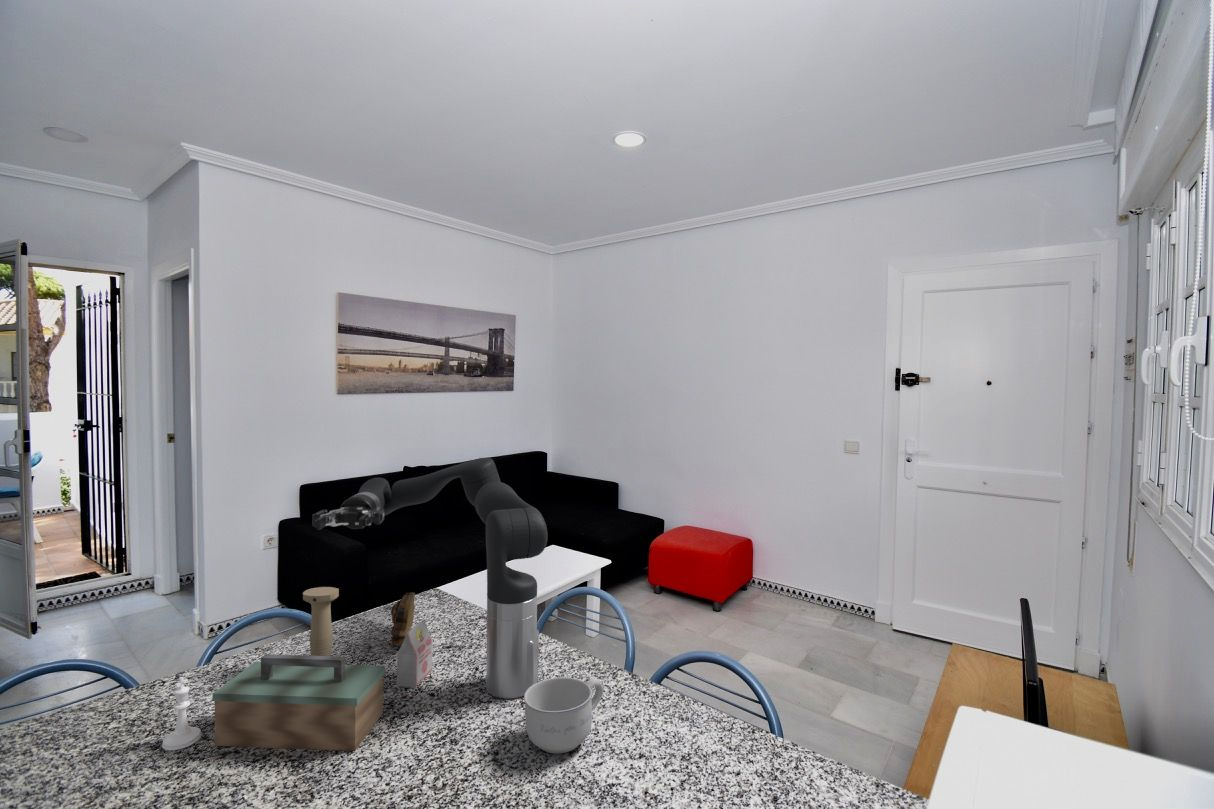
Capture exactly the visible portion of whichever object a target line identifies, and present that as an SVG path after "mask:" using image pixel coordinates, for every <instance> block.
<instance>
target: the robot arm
mask: <svg viewBox="0 0 1214 809" xmlns="http://www.w3.org/2000/svg"><path fill="white" fill-rule="evenodd" d="M498 472H499V471H498V469H497V466H496V463H495V461H494V459H492V458H491V457H479V458H475V459H471V460H468V461H464V462H461V463H459V464H455V465H451V466H449V467H446V468H443V469H441V470H438V471H435V472H431V473H429V474H425V475H421V476H417V477H411V478H405V479H401V480H400V479H399V480H398V481H395V482H394V483H393V484H392V486H390V483H389V481H388V479H385V478H383V477H373V478H371V479H368V480H366V482H364V483H363V484H362V485H361V486H360V488H359V491H358V493H357V494H354V495H352V496H350V497H349V498H346V500H344V501H343V502H342V504H341V505H340V507H339V508H338V509H333V510H330V511H329V512H328V509H322V510H319V511H317V512H316V513H315V512H314V513H313V514H312V522H311V523H312V527H314V528H316V530H317V531H318V530H319V531H321V530H323V528H326V527H327V526H328V527H329V526H330V527H333V528H334V527H339V526H345V527H347V528H349V529H350V530H351V529H353V530H359V529H364V528H365V527H367V526H369V527H370V526H371V525H372V523H374V525H375V526H378V525H381V524H382V523H383V522H384V520H385V516H388V515H389V514H391V513H393V512H395V511H396V510H398V509H401V508H404V507H409V506H414V505H419V504H424V503H427V502H429V501H431V500H432V499H433V498H435V497H436V496H437V495H438V494H439V493H440V491H442V489H443V488H444V487H445V486H446V485H448V483H450V482H451V481H453V480H454V479H458V478H460V481H461V484H462V488H463V490H464V493H465V496H466V498H467V501H468V502H469V503H470V505H472V506H473V507H474V508H475V512H476V513H477V515H478V516H479V518H480V520H481V521H482V522H483V523H484V524H485V547H486V548H485V549H486V583H487V584H486V585H487V586H486V661H485V662H486V664H485V665H486V673H485V674H486V675H485V679H486V682H485V686H486V691H487V692H488V693H489V694H490V695H491V696H493V697H496V698H500V699H516V698H521V697H524V694H525V692H526V691H527V689H528V688H529V687H531V686H532V685H534V684H535V683H537V682H538V680H539V648H540V647H539V642H540V641H539V640H540V638H539V634H540V631H539V629H538V628H537V627H538V625H537V624H538V621H537V620H538V581H537V579H536V578H535V577H534V576H533V575H532V574H529V573H527V572H523V571H519V570H515V569H512V568H510V566H509V567H508V565H507V561H513V560H514V561H515V560H516V561H517V560H524V559H530V558H531V559H532V558H535V557H537V556H539V555H541V554H542V553H543V552H544V550H545V549H546V547H547V543H548V535H549V533H548V528H547V524H546V521H545V519H544V517H543V514H542V513H541V512H540V511H539V510H538V509H537V508H536V507H534V506H532V505H530V504H529V503H527V502H526V501H524V500H523V499H522V498H521V497H520V496H518V494H517V493H516V491H515V490H514V489H513V488H512V487H511V486H510V485H508V484H506V483H504V482H501V478H500V476H499V473H498Z"/></svg>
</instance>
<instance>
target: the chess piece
mask: <svg viewBox="0 0 1214 809" xmlns="http://www.w3.org/2000/svg"><path fill="white" fill-rule="evenodd" d="M187 683H189V679H188V678H185V677H184V676H180V677H179V678H178V682H176V683H175V684H174V687H175V688H176V689H175V690H174V691H173V696H174V697H175V699H176V703H175V704H173V708H172V709H173V710H176V711H177V714H176V715H177V716H176V722H175V723H176V724H175V729H174V730H173V731H172V732H170V733H168V734H167V735H166V736H165V737H164V738H163V740H162V745H161V748H162V749H163V750H165V751H177V750H182V749H184V748H187V747H189V746H192V745H193V744H195V743H197V742H198V741H199V740H200V739H201V738H202V729H201V728H199V727H196V726H190V725H189V722H188V717H187V709H186V708H188V707H189V706H190V705H191V702H190V701H189V700H187V698H188V694H189V692H190V690H191V688H190V687H189V686H185V684H187Z"/></svg>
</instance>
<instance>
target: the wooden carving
mask: <svg viewBox="0 0 1214 809" xmlns="http://www.w3.org/2000/svg"><path fill="white" fill-rule="evenodd" d="M415 598H416V593H415V592H406V593H405V594H403V596H402V598H401V599H400V600H397V602H396V603H395V604H393V605H392V607H391V610H390V613H391V614H390V615H391V620H392V624H393V626H392V628H391V631H390V635H391V640H390V644H391V645H393V646H394V645H395V646H402V644H403V641H404V639H405V635H406V633H407V632H409V631H410V630H411V629H412V628H413V623H414V616H415V609H416V605H415Z"/></svg>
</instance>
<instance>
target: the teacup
mask: <svg viewBox="0 0 1214 809" xmlns="http://www.w3.org/2000/svg"><path fill="white" fill-rule="evenodd" d="M594 687H595V692H594V694H593V690H592V689H593V688H594ZM603 694H604V686H603V684H602V683H601V681H599V680H598V679H595V678H593V679H589V680H588V681H586V682H585V681H583V680H580V679H578V678H575V677H574V678H573V677H568V676H567V677H566V676H565V677H562V676H560V677H552V678H546V679H542V680H540V681H537V683H535V684H534V685H532V686H531V687H529V688H528V689H527V691H526V692H525V694H524V696H523V701H524V710H525V714H524V715H525V728H526V732H527V735H528V738H529V740H530V741H531V743H533V745H535V746H536V747H538V748H539V749H540V750H542V751H544V752H546V753H550V754H555V755H556V754H564V753H567V752H572V751H573V750H575V749H576V748H578V746H580V744H582V743H583V742H584V741H585V740H586V739H587V737H588V736H589V734H590V732H591V728H592V722H593V720H592V718H593V715H592V714H593V713H592V712H593V710H595V709H596V708H597V706H598V704H600V702H601V700H602V698H603ZM592 696H593V697H592Z"/></svg>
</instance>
